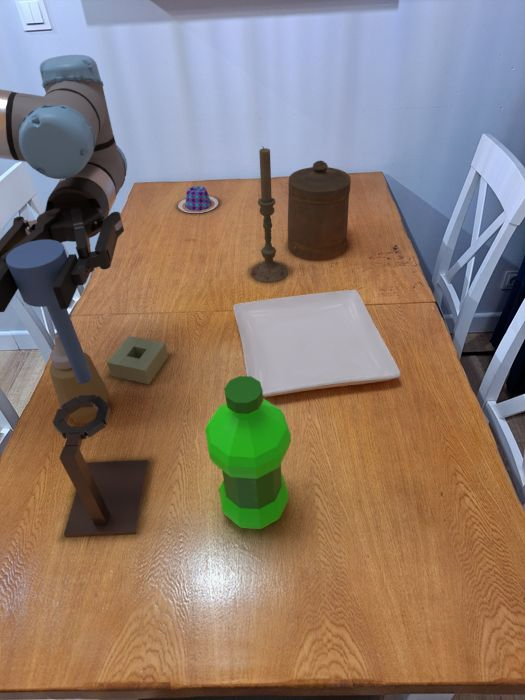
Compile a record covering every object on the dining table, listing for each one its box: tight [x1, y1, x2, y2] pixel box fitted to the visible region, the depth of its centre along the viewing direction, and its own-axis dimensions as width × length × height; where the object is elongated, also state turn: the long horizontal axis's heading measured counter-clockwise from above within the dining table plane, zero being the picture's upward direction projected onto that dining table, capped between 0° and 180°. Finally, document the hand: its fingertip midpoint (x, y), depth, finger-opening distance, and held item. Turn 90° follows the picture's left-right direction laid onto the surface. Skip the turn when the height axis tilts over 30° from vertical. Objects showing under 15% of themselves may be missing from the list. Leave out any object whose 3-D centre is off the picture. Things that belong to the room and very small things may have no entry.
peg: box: [6, 240, 92, 384], centre depth 59 cm, size 6×6×19 cm
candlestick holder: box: [250, 146, 289, 284], centre depth 108 cm, size 9×9×30 cm
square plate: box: [232, 289, 402, 398], centre depth 95 cm, size 27×27×4 cm
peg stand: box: [52, 395, 150, 538], centre depth 68 cm, size 12×10×17 cm
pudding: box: [177, 185, 219, 214], centre depth 145 cm, size 12×12×5 cm
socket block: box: [106, 335, 169, 385], centre depth 93 cm, size 8×8×4 cm
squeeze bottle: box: [49, 332, 109, 425], centre depth 80 cm, size 8×8×18 cm
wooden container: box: [287, 160, 352, 262], centre depth 119 cm, size 15×15×22 cm
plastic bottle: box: [204, 375, 292, 530], centre depth 63 cm, size 10×10×25 cm
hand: (27, 299), depth 50 cm, fingers closed on peg, 6 cm apart
